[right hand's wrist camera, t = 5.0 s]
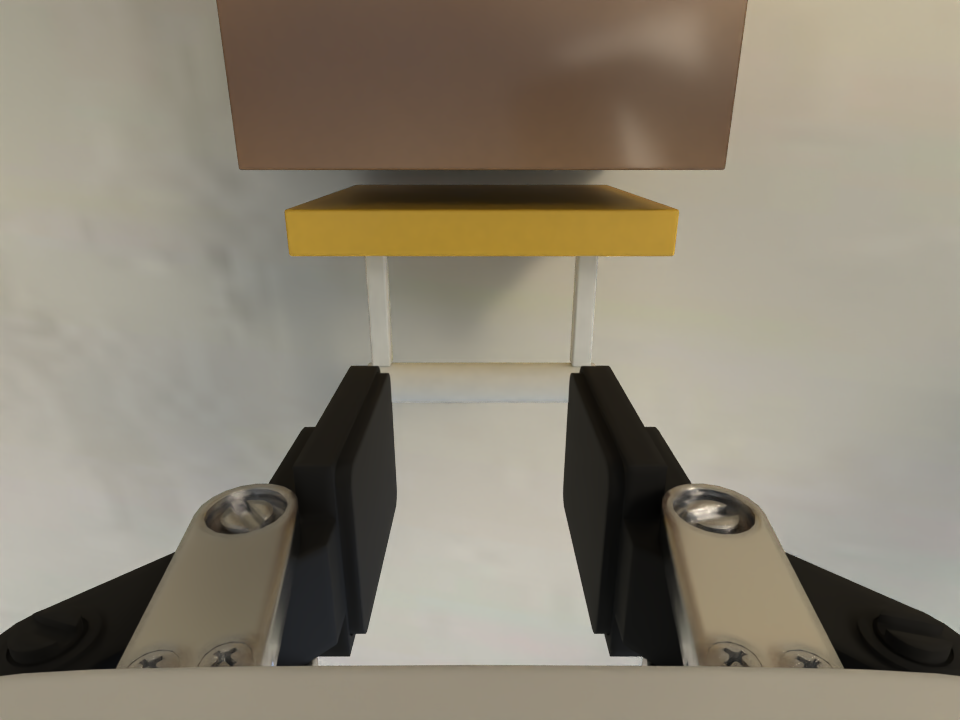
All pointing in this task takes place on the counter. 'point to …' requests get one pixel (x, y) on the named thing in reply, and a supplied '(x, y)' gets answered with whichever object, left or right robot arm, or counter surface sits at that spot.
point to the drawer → (481, 232)
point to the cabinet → (482, 83)
